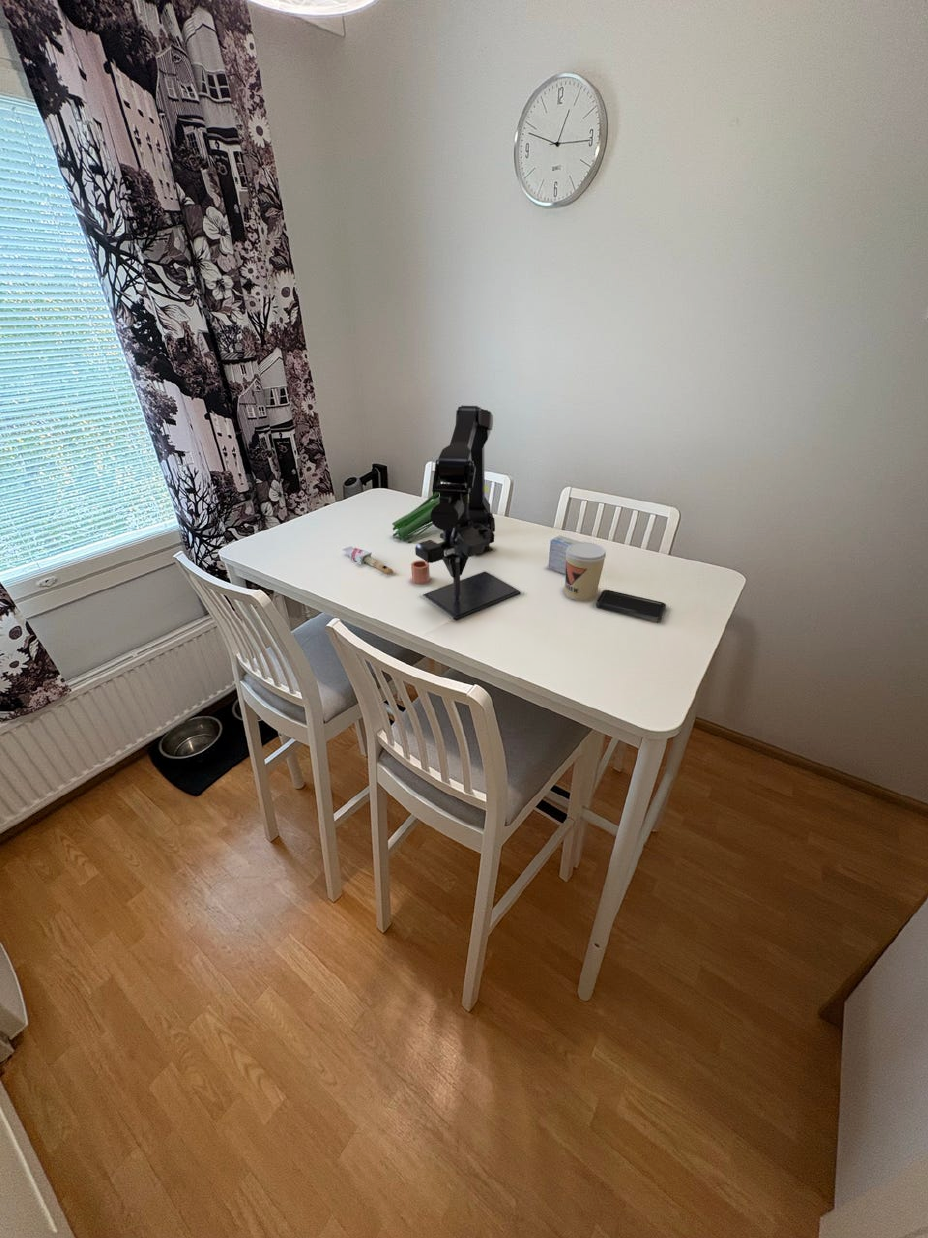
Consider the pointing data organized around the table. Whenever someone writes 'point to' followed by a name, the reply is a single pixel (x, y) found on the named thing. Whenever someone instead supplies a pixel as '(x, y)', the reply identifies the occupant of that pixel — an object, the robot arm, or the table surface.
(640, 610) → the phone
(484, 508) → the robot arm
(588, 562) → the coffee cup
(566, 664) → the table surface
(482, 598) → the tablet
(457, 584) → the stylus
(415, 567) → the pen cup
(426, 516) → the daffodil flowers
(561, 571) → the medicine box
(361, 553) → the paintbrush
